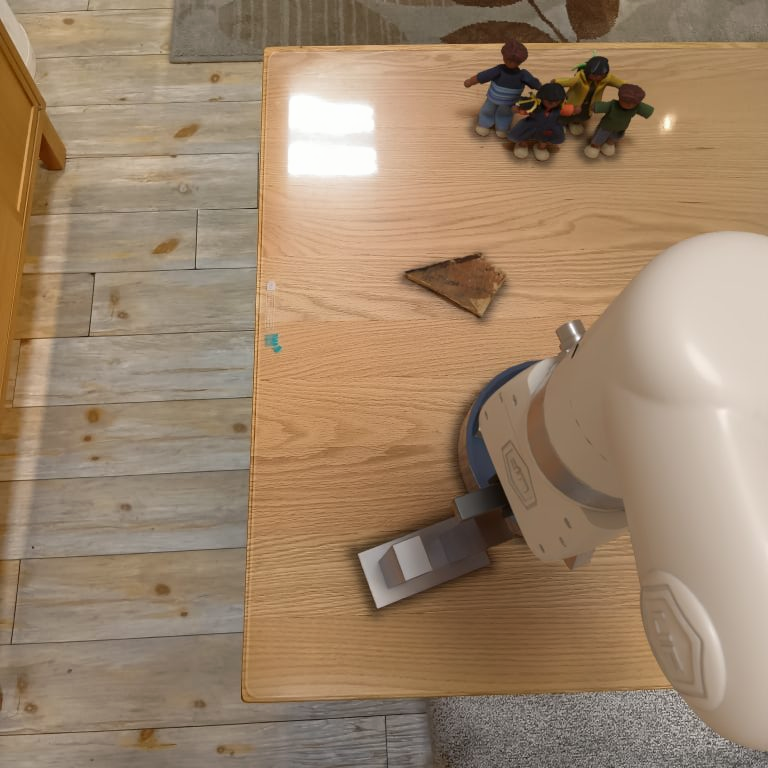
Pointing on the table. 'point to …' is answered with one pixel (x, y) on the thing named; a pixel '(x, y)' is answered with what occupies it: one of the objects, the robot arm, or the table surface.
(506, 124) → the doll family
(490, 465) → the bowl
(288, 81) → the table surface
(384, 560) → the stick stand
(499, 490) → the stirring stick
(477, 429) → the cream block
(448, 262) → the shard
